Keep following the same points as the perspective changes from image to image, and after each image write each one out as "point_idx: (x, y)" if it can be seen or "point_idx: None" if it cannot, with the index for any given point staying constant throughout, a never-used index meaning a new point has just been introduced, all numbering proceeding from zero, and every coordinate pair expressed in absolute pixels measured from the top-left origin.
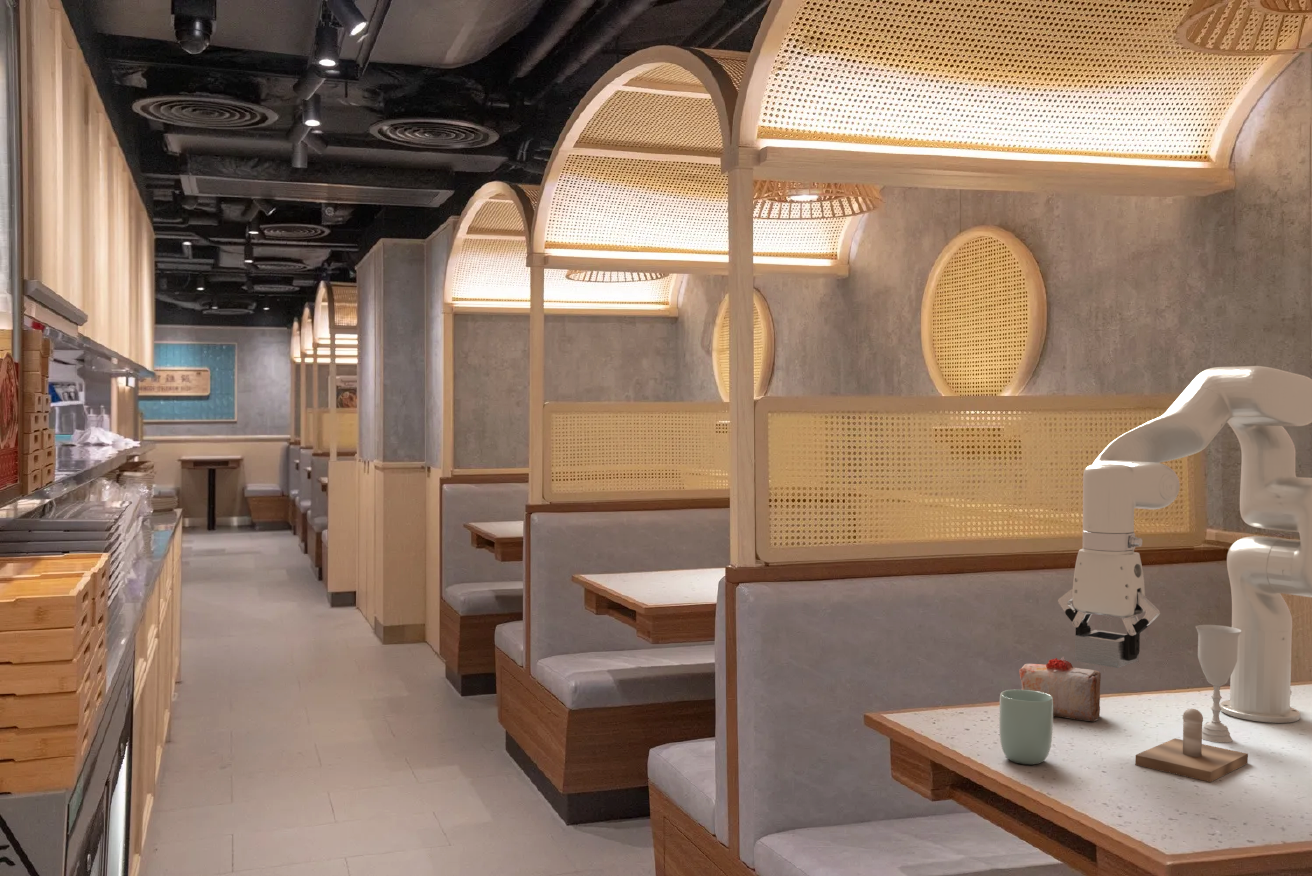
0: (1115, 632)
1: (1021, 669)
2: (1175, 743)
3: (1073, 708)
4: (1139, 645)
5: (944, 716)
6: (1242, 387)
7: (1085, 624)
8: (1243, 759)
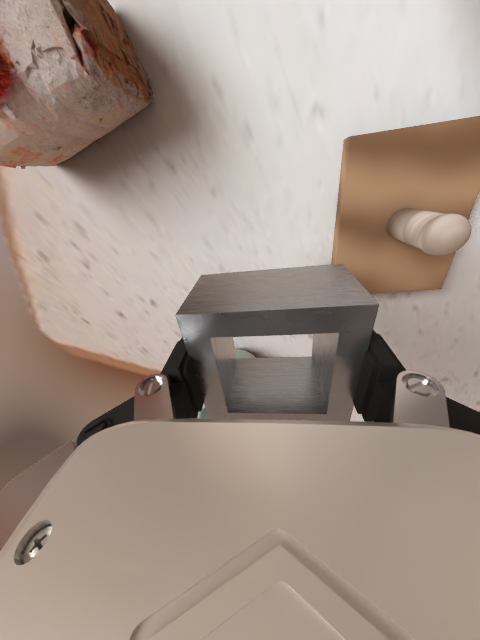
0: (262, 311)
1: None
2: (361, 178)
3: (116, 125)
4: (389, 348)
5: (60, 290)
6: None
7: (184, 402)
8: None
